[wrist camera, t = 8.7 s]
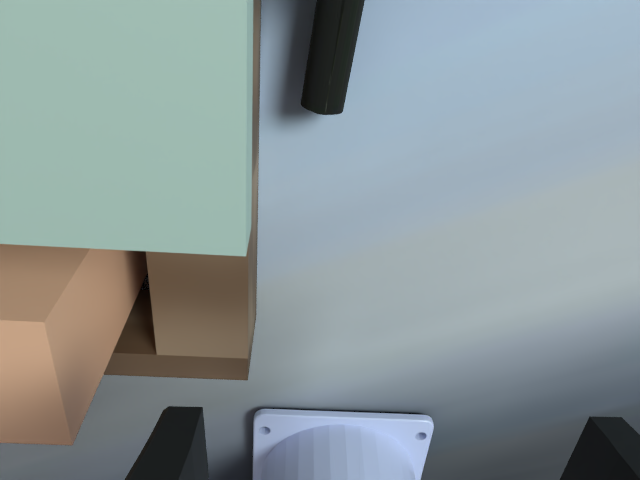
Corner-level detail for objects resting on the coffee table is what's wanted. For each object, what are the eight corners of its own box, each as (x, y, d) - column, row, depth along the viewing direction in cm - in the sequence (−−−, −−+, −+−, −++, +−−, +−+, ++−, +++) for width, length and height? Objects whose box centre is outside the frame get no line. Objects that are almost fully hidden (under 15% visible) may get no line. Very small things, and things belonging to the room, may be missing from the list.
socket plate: (256, 315, 22) (247, 380, 19) (-57, 301, 22) (-116, 365, 19) (261, -15, 16) (250, 5, 13) (-178, -48, 15) (-296, -35, 12)
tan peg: (149, 267, 21) (72, 445, 14) (40, 261, 21) (-92, 439, 14) (140, 169, 19) (43, 322, 12) (18, 161, 19) (-150, 312, 12)
